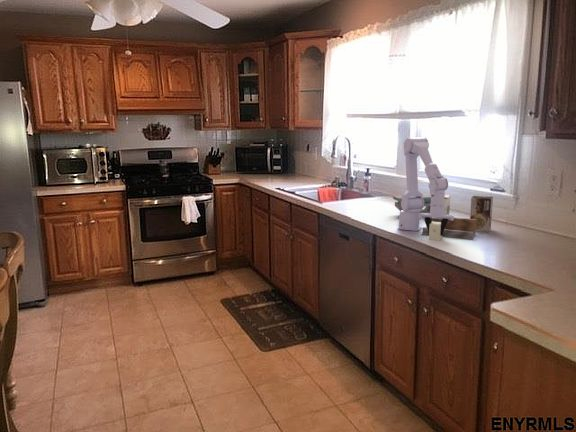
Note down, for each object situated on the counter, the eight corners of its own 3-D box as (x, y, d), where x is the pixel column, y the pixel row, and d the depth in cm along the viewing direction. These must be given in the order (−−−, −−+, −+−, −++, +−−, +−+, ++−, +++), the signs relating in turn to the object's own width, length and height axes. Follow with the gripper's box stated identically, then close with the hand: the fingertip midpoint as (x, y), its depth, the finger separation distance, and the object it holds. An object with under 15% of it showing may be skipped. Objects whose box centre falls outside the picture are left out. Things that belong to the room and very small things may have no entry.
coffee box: (491, 229, 227) (493, 196, 224) (489, 232, 222) (491, 198, 219) (471, 227, 232) (473, 195, 229) (468, 230, 227) (471, 197, 223)
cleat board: (421, 234, 219) (422, 219, 217) (426, 229, 229) (427, 215, 227) (472, 239, 209) (473, 224, 207) (475, 234, 219) (476, 219, 217)
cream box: (428, 239, 210) (429, 224, 208) (431, 236, 215) (432, 221, 214) (439, 240, 208) (440, 225, 206) (441, 237, 213) (442, 222, 212)
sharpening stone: (434, 213, 267) (435, 194, 264) (441, 216, 259) (442, 196, 257) (392, 215, 263) (393, 196, 261) (397, 218, 256) (398, 198, 254)
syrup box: (437, 221, 246) (438, 194, 243) (449, 222, 243) (450, 195, 240) (434, 223, 241) (436, 195, 238) (446, 225, 238) (448, 196, 235)
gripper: (418, 205, 209) (417, 234, 211) (452, 207, 202) (450, 238, 205) (422, 202, 215) (420, 231, 217) (455, 204, 208) (453, 234, 211)
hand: (435, 234), depth 211 cm, fingers closed on cream box, 5 cm apart
